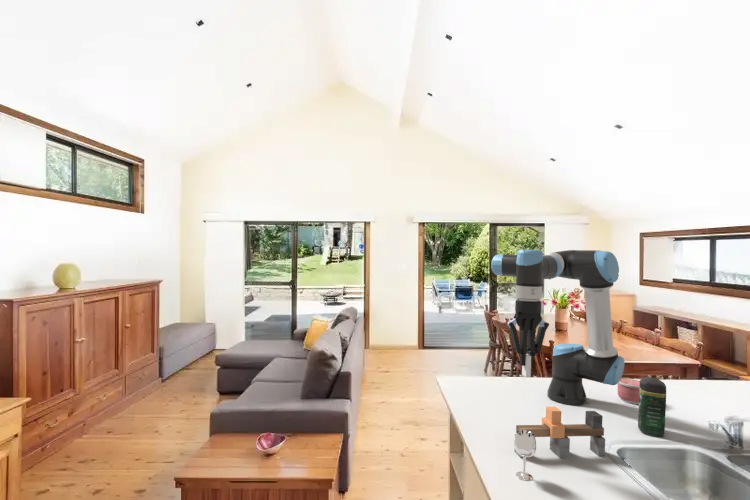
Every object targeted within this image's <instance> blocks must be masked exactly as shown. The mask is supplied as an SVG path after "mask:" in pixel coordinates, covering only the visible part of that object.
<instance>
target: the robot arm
mask: <svg viewBox="0 0 750 500" xmlns="http://www.w3.org/2000/svg"><path fill="white" fill-rule="evenodd" d="M490 268H491V272H492V273H493V274H494V275H496V276H501V277H513V278H515V277H516V278H515V279H516V280H515V298H516V299H515V303H514V304H515V305H514V306H515V308H514V309H515V310H514V311H515V314H514V316H513V319H511V320H510V321H509V320H507V321H506V326H507V327H508V329H509V333H510V334H509V335H510V336H511V337H510V338H511V343H512V344H511V345H512V348H513V351H514V352H515V353H517V354H519V365H521V368H522V369H521V375H522V376H523V377H525V378H531V376H532V375H531V373H532V366H534V358H535V356H536V354H540V353H541V351H542V347H543V344H544V343H543V342H544V339H545V337H546V332H547V330H548V328H549V326H550V323H549V322H546V321H545V320H543V317H542V301H541V300H542V295H543V294H542V293H543V291H542V289H543V280H552V279H555V278H557V277H558V278H564V279H568V280H579V286H580V287H581V288H582V289H583V290H584V302H585V303H584V304H585V313H586V314H585V316H586V317H585V318H586V327H587V328H586V329H587V340H588V343H587V344H588V345H587V346H586V347H584V345H583V344H579V343H560V344H556V345H554V347H553V350H552V373H551V375H552V376H551V377H552V378H551V381H550V383H549V385H548V386H549V387H548V389H547V394H546V395H547V397H548V399H550V400H551V401H555V402H556V403H560V404H565V405H571V406H572V405H573V406H581V405H585V404H586V403H587V394H586V390H585V387H584V385H583V379H585V380H587V381H592V382H596V383H600V384H604V385H610V386H615V385H618V382H619V381H620V379H621V378H622V377H623V374H624V370H625V359H624V357H623V356H621V355H619V354H618V353H619V352H618V349H617V348H616V347H614V344H613V343H614V341H613V329H612V327H613V326H612V324H613V323H612V312H611V310H612V309H611V296H610V295H611V293H610V289H612V287H613V286H614V283H615V282H617V281H618V280H619V273H620V267H619V262H618V259H617V257H616V255H614V253H612V252H611V251H608V250H607V251H606V250H600V249H599V250H597V249H596V250H594V249H593V250H589V249H588V250H585V249H582V250H580V249H578V250H577V249H576V250H575V249H568V250H561V251H550V252H547V253H545V254H543V251H542V250H540V249H519V250H518V251H517V252H516V254H505V253H502V254H501V253H500V254H496V255H494V256H493V258H492V259H491V267H490ZM517 326H518V327H519V328H518V329H519V336H518V330H517ZM537 327H538V328H537Z"/></svg>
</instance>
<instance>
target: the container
mask: <svg viewBox="0 0 750 500" xmlns="http://www.w3.org/2000/svg"><path fill="white" fill-rule="evenodd" d="M639 388H640V380H638V379H633V378H622V377H621V379H620V381H619V382H618V383H617V395H618V397H619V398H620V401H621V402H624V403H627V404H632V405H639Z"/></svg>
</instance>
